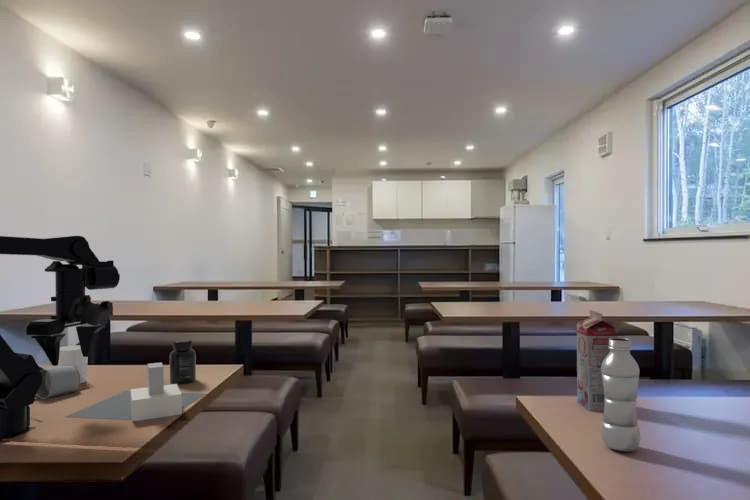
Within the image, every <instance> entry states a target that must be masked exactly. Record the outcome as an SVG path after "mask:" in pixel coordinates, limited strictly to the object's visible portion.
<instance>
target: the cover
mask: <svg viewBox="0 0 750 500" xmlns="http://www.w3.org/2000/svg"><path fill="white" fill-rule="evenodd" d="M164 370H165V369H164V364H163V362H153V363H151V362H150V363H147V387H139V388H131V389H130V390H129V391H131V417H132V420H131V422H139V421H141V420H146V419H153V418H160V417H166V416H169V417H173V416H178V415H179V416H180V415H182V414H183V412H182V411H183V409H182V394H181V393H182V392H181V390H180V387H179V385H177V384H165V383H164V380H165V379H164V373H165V372H164ZM164 384H165V385H164Z"/></svg>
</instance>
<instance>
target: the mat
mask: <svg viewBox="0 0 750 500" xmlns="http://www.w3.org/2000/svg"><path fill="white" fill-rule="evenodd" d="M181 394H182V410H183V409H185V408H186V407H188V406H190V405H192V404H194V403H195V402H197V401H198V400H200V399H202V398H203V397H205V396H206V395H208V393H200V392H199V393H197V392H196V393H195V392H181ZM65 418H76V419H99V420H102V419H103V420H121V421H123V420H124V421H132V417H131V390H124V391H121V392H120V393H117V394H115V395H112V396H110V397H108V398H105V399H103V400H101V401H98V402H96V403H94V404H91V405H89V406H87V407H85V408H82V409H79V410H78V411H75V412H73V413H70V414H68V415H66V416H65ZM168 418H170V416H166V417H160V418H153V419H146V420H140V421H143V422H144V421H145V422H146V421H147V422H162V421H164V420H166V419H168Z"/></svg>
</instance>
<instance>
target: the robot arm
mask: <svg viewBox="0 0 750 500" xmlns="http://www.w3.org/2000/svg"><path fill="white" fill-rule="evenodd" d="M0 255H11V256H15V255H16V256H37V257H42V258H44V259H48V260H52V262H51V263H50V264H49V265H48V266H47V267H45V269H44V272H46V273H55V274H54V275H55V277H54V278H55V296H50V302H55V314H53V315H50V319H48V318H47V319H46V318H44V319H43V318H41V319H37V320H30V321H29V322H28V323H27V324H26V325H25V332H26V333H25V334H26V335H25V336H30V337H31V339H35V341H36V342H37V344H38V345H39V346H40V347H41V349H42V351H43V352H44V353H45V356H46V357H47V359H48V360H49V362H50V364H51V365H52V366H53V367H57V365H58V363H59V352H60V347H61V346H60V345H61V341H62V340H63V338H65V336H66V333H63V332H64V331H65V329H67V328H70V327H71V328H72V327H75V330H76V333H77V338H78V341H79V345H80V347H81V351H82V354H83V357H89V356H90V353H91V349H92V347H93V345H94V341H95V339H96V337H97V334H98V333H99V332H100V331H101V330H102V329H103V328H106V325H107V324H110V317H112V316H113V315H114V312H113V311H114V305H113V302H112V301H109V300H105V301H104V300H103V301H101V302H100V303H94V302H92V299H91V298H92V297H91V296H90V294H86V289H87V290H89V291H92V290H93V291H95V290H105V289H107V290H109V289H114V288H116V287H117V286H118V285H119V282H120V275H121V274H120V273H119V270H118V268H117V266H115V265H114V264H115V263H114V260H99V258H98V257H97V255H96V254H95V253H94V252H93V250H92V249H91V248H90V244H89V241H88V240H87V239H86V238H85V237H84V236H82V235H60V236H50V237H42V238H38V237H36V238H35V237H23V236H21V237H19V236H5V235H0ZM62 262H66V263H62ZM79 266H81V267H79ZM40 370H43V367H41V366H40V365H38V364H37V362H36V360H35V358H34V356H33V355H32V354H27V353H23V352H22V353H21V352H16V351H14V350H13V349H12V347H11V346H10V345H9V344H8V342H7V341H6V340H5V339H4V338H3V336H2V335H1V334H0V441H4V442H5V441H8V440H10V439H13V438H16V437H18V436H21V435H22V434H24V433H27V432H30V431H32V430H34V429H36V426H31V407H30V405H33V404H34V402H35V400H36V396H37V391H38V390H39V388H40V387H41V385H42V381H43V379H44V378H43V375H42V373H41V371H40Z"/></svg>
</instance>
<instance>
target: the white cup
mask: <svg viewBox="0 0 750 500" xmlns="http://www.w3.org/2000/svg"><path fill="white" fill-rule="evenodd" d="M88 357H89V356H88ZM88 357H83V354H82V351H81V347H80V344H77V345H67V346H60V352H59V363H58V365H57V366H56V367H61V366H74V367H75V368H77V370H78V371H79V374H80V384H79V385H81V384H84V383H86V382H87V372H88V360H89V359H88Z"/></svg>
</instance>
